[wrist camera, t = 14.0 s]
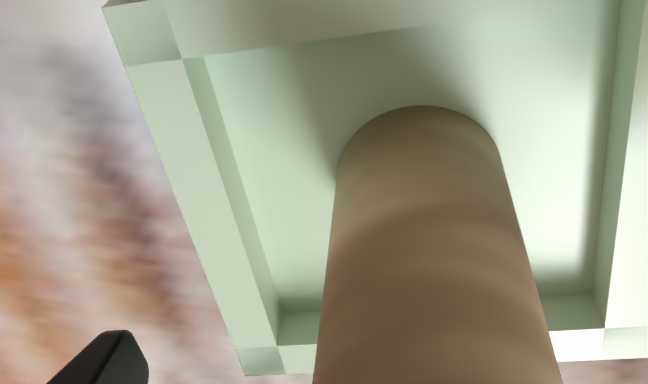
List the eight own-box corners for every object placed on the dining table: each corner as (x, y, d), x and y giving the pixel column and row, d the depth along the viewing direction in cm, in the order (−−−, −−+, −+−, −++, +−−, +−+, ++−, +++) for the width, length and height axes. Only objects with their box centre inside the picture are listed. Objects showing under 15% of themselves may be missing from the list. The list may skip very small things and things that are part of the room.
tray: (690, -115, 9) (737, -93, 8) (628, 305, 14) (650, 357, 13) (133, -23, 11) (101, 7, 10) (256, 327, 16) (245, 376, 15)
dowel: (501, 95, 11) (591, 373, 6) (503, 233, 13) (574, 531, 8) (324, 116, 11) (278, 386, 7) (350, 245, 13) (329, 532, 8)
